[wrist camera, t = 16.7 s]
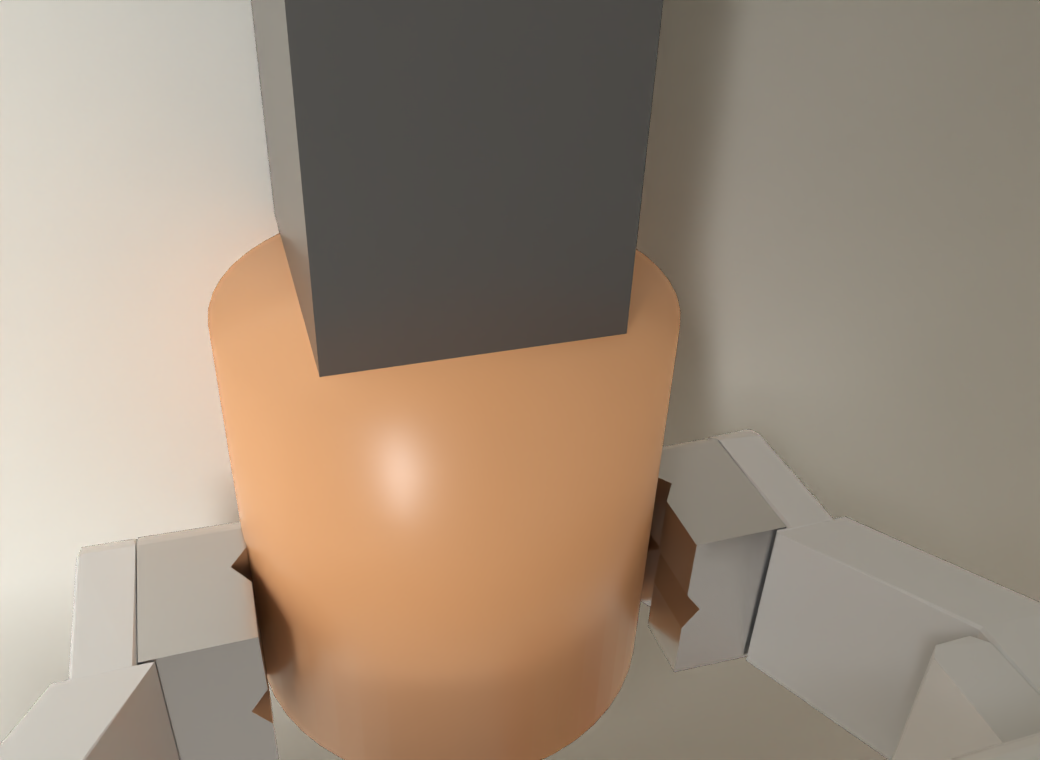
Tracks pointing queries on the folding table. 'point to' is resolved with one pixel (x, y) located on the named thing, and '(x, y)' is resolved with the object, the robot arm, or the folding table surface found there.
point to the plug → (449, 370)
